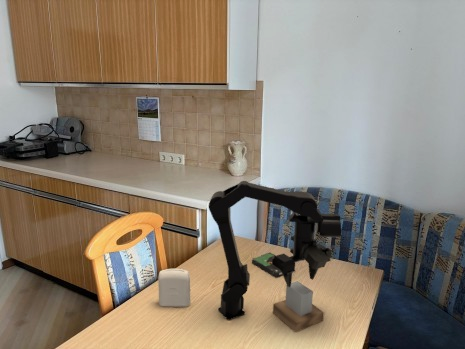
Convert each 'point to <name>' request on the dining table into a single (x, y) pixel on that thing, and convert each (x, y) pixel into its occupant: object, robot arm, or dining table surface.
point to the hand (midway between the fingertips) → (300, 282)
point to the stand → (297, 316)
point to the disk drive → (267, 264)
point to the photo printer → (174, 288)
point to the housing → (299, 298)
